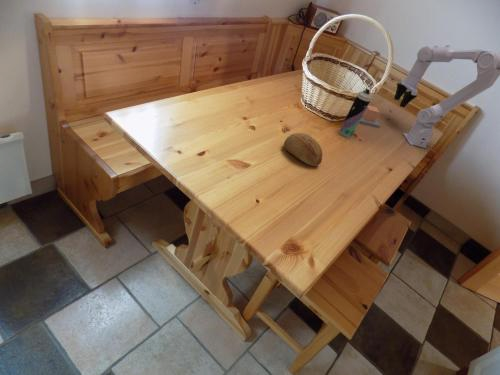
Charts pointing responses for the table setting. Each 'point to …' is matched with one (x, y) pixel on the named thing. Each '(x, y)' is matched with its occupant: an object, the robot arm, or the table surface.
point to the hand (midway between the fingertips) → (398, 103)
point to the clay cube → (370, 113)
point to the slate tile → (370, 122)
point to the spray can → (355, 113)
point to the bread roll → (304, 148)
